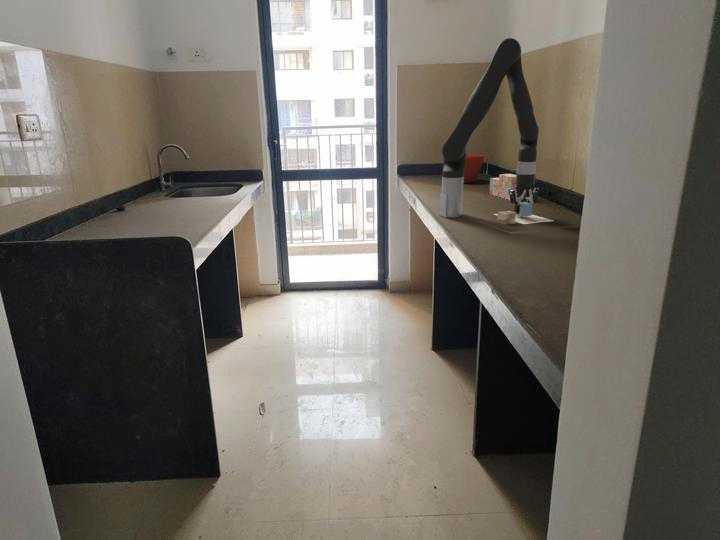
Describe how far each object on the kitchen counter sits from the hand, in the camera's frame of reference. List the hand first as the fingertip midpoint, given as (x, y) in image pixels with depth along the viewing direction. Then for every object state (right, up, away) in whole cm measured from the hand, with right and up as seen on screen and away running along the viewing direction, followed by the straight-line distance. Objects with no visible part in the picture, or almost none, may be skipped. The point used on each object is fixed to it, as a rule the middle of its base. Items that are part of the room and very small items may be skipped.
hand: (522, 213), depth 206 cm
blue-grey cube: (0, -1, 0) cm, 1 cm away
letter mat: (0, -2, +1) cm, 2 cm away
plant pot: (-2, +34, +114) cm, 119 cm away
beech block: (-10, -6, -8) cm, 14 cm away
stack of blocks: (+8, +14, +53) cm, 56 cm away
